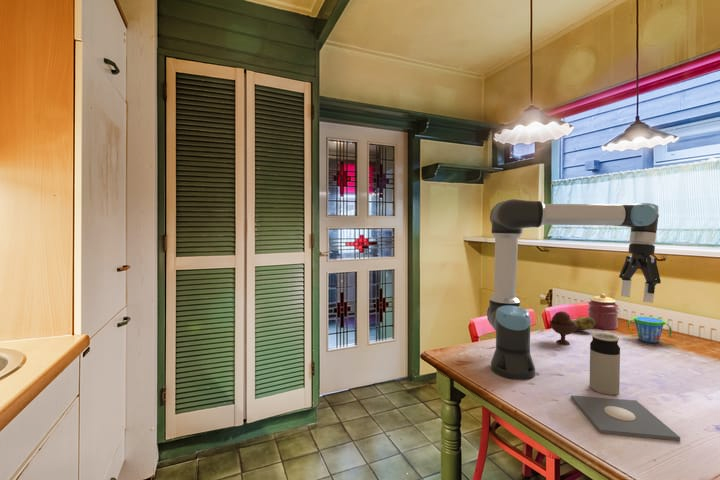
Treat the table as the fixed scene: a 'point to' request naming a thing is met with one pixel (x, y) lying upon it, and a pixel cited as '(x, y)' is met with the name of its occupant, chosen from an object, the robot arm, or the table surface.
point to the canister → (603, 312)
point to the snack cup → (649, 328)
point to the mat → (623, 418)
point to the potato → (584, 323)
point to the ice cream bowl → (563, 326)
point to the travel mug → (605, 363)
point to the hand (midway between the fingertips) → (635, 299)
